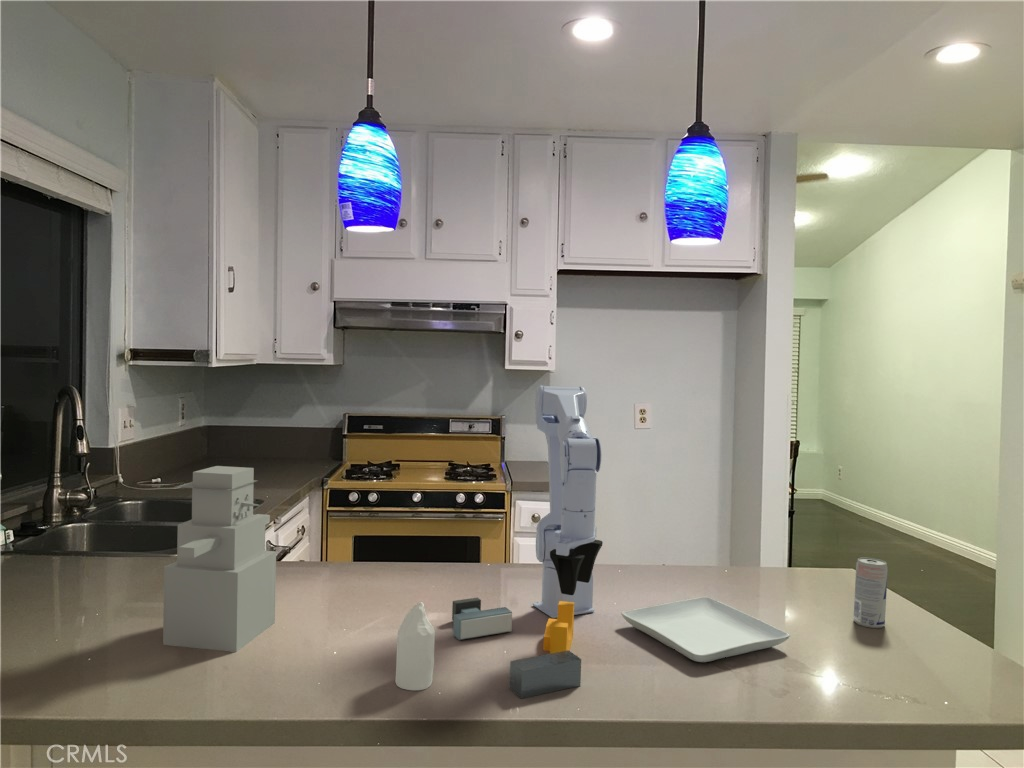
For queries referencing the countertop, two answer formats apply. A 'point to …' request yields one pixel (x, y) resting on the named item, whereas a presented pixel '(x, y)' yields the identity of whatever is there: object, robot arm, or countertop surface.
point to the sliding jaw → (478, 619)
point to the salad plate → (705, 628)
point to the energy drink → (870, 592)
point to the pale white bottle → (415, 651)
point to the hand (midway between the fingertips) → (575, 587)
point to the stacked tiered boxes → (220, 566)
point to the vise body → (545, 674)
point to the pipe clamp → (560, 629)
